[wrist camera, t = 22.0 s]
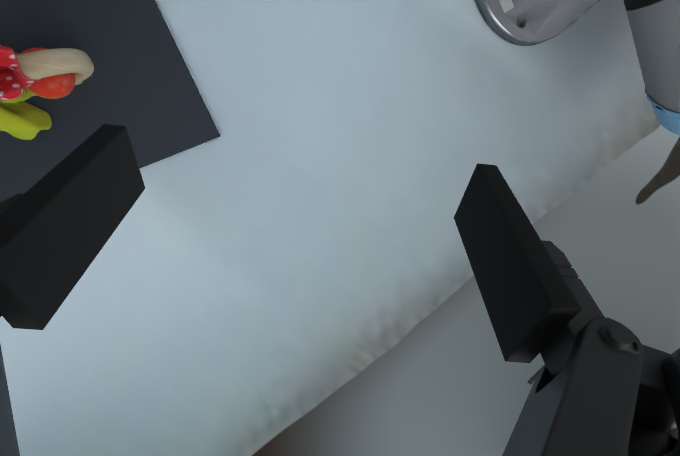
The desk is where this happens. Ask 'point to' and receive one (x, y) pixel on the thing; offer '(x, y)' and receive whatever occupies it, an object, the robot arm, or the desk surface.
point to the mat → (103, 84)
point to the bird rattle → (36, 85)
